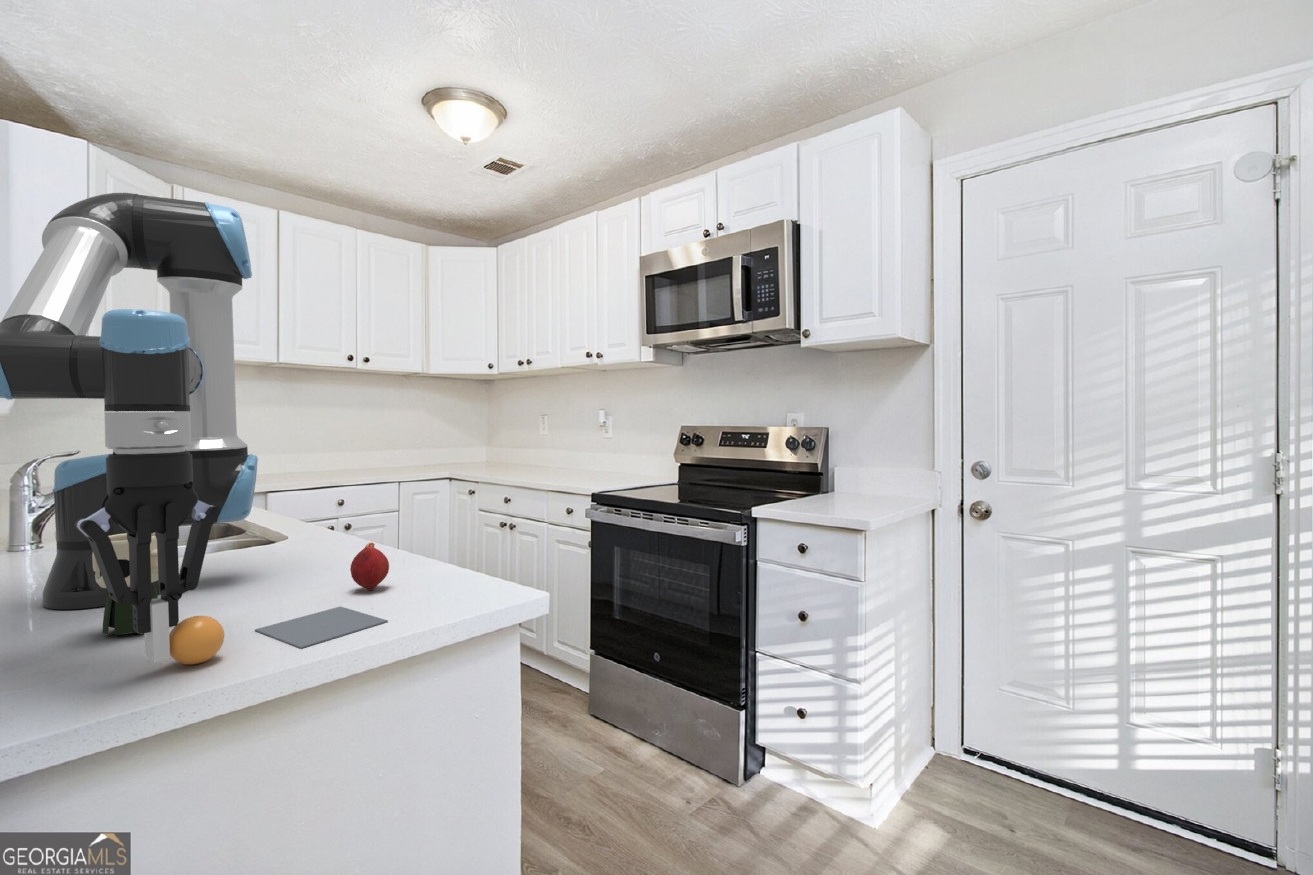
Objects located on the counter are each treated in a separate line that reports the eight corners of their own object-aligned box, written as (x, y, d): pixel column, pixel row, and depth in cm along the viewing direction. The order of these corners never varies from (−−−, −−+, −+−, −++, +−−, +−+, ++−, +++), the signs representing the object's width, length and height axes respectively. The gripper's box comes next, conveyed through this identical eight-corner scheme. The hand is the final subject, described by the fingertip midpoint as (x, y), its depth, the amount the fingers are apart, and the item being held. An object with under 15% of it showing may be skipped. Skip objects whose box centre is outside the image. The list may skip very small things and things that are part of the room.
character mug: (70, 639, 82) (66, 541, 81) (121, 621, 89) (118, 530, 89) (146, 641, 81) (142, 542, 80) (192, 623, 88) (189, 531, 87)
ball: (159, 665, 73) (157, 619, 73) (213, 650, 78) (211, 606, 78) (179, 676, 70) (177, 627, 70) (233, 659, 75) (232, 614, 75)
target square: (254, 630, 85) (254, 629, 85) (340, 607, 95) (340, 606, 95) (301, 648, 78) (301, 647, 78) (387, 621, 88) (387, 620, 88)
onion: (374, 596, 101) (373, 547, 101) (343, 594, 102) (341, 545, 102) (396, 586, 107) (395, 539, 106) (366, 584, 108) (365, 538, 107)
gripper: (83, 455, 62) (93, 687, 63) (230, 448, 73) (236, 647, 74) (62, 452, 67) (71, 670, 68) (203, 446, 77) (209, 634, 78)
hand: (157, 657), depth 71 cm, fingers closed
